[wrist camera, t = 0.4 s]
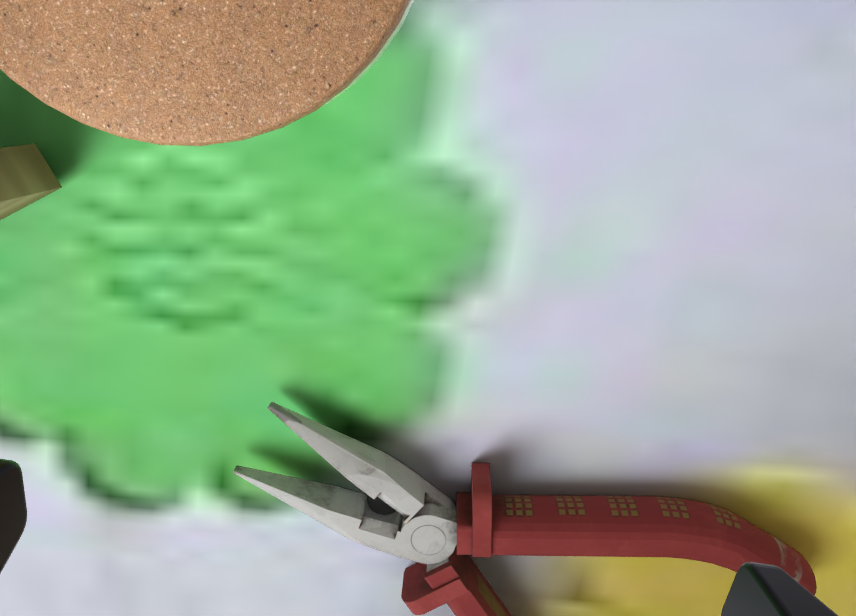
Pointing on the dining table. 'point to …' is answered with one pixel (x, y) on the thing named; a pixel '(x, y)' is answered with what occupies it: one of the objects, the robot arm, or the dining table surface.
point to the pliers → (503, 523)
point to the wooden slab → (23, 178)
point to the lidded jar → (192, 61)
